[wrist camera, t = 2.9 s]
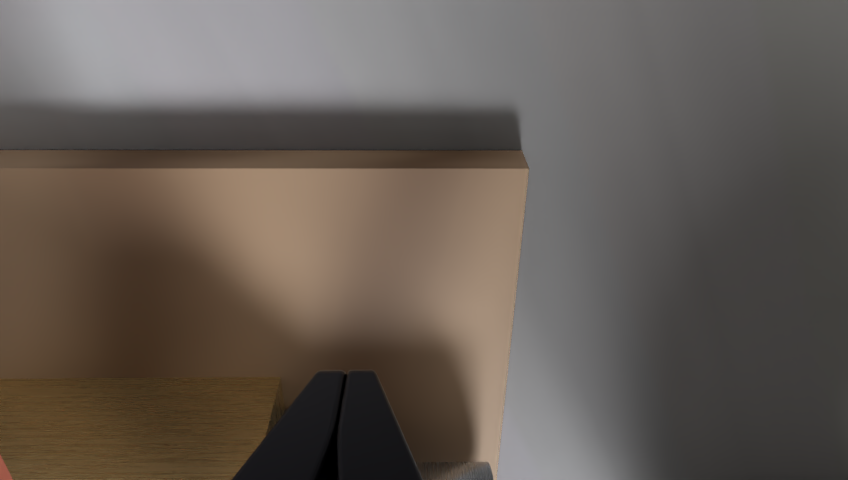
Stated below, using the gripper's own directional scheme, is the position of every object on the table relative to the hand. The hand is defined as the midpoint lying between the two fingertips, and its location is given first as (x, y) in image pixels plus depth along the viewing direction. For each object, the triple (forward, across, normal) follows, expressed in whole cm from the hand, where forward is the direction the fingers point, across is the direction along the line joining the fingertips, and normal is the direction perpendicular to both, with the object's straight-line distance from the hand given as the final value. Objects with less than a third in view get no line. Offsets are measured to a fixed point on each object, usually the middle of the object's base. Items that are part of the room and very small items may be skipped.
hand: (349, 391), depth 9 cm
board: (+6, +6, +7) cm, 12 cm away
